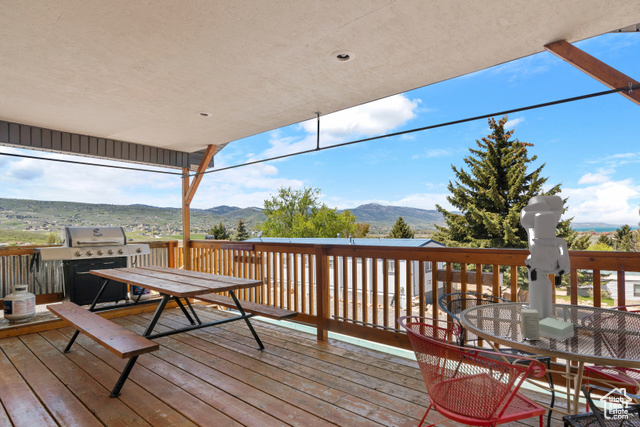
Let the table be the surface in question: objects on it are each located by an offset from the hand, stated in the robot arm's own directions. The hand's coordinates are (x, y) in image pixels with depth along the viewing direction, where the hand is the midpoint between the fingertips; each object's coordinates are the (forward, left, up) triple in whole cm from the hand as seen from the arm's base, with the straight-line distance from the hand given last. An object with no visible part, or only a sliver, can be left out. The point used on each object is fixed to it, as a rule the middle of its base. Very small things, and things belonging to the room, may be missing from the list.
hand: (545, 282), depth 150 cm
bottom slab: (+1, +6, -24) cm, 25 cm away
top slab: (+1, +5, -21) cm, 22 cm away
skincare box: (-3, -6, -24) cm, 25 cm away
